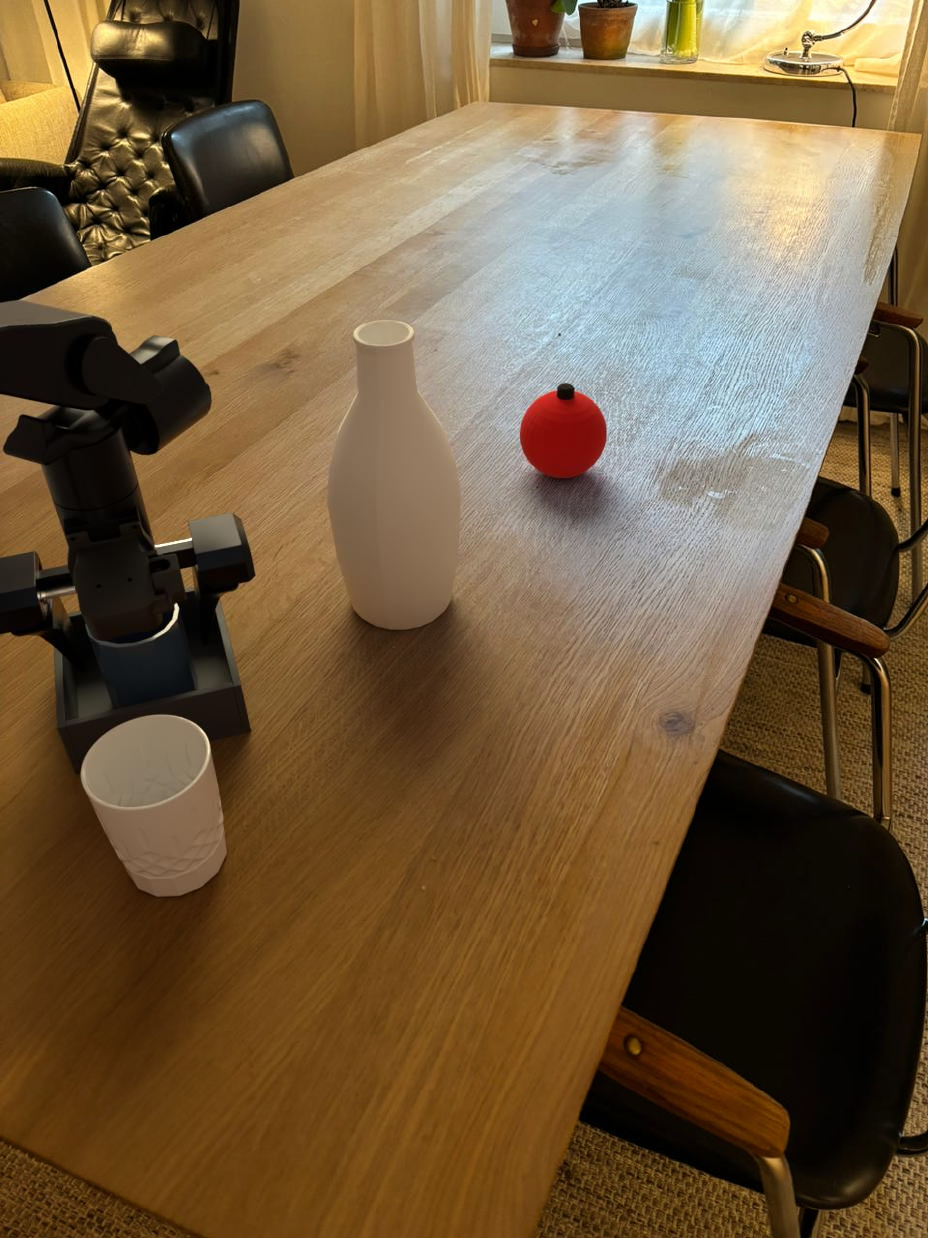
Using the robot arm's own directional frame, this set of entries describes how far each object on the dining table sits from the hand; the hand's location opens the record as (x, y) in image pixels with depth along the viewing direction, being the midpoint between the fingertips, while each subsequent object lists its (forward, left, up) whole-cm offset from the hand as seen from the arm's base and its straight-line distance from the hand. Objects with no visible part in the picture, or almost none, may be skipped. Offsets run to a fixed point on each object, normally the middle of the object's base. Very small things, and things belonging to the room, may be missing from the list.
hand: (145, 655), depth 78 cm
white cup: (+10, -14, -4) cm, 17 cm away
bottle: (+15, +17, -4) cm, 23 cm away
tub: (0, 0, -4) cm, 4 cm away
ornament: (+24, +42, -4) cm, 49 cm away
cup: (0, 0, -4) cm, 4 cm away
